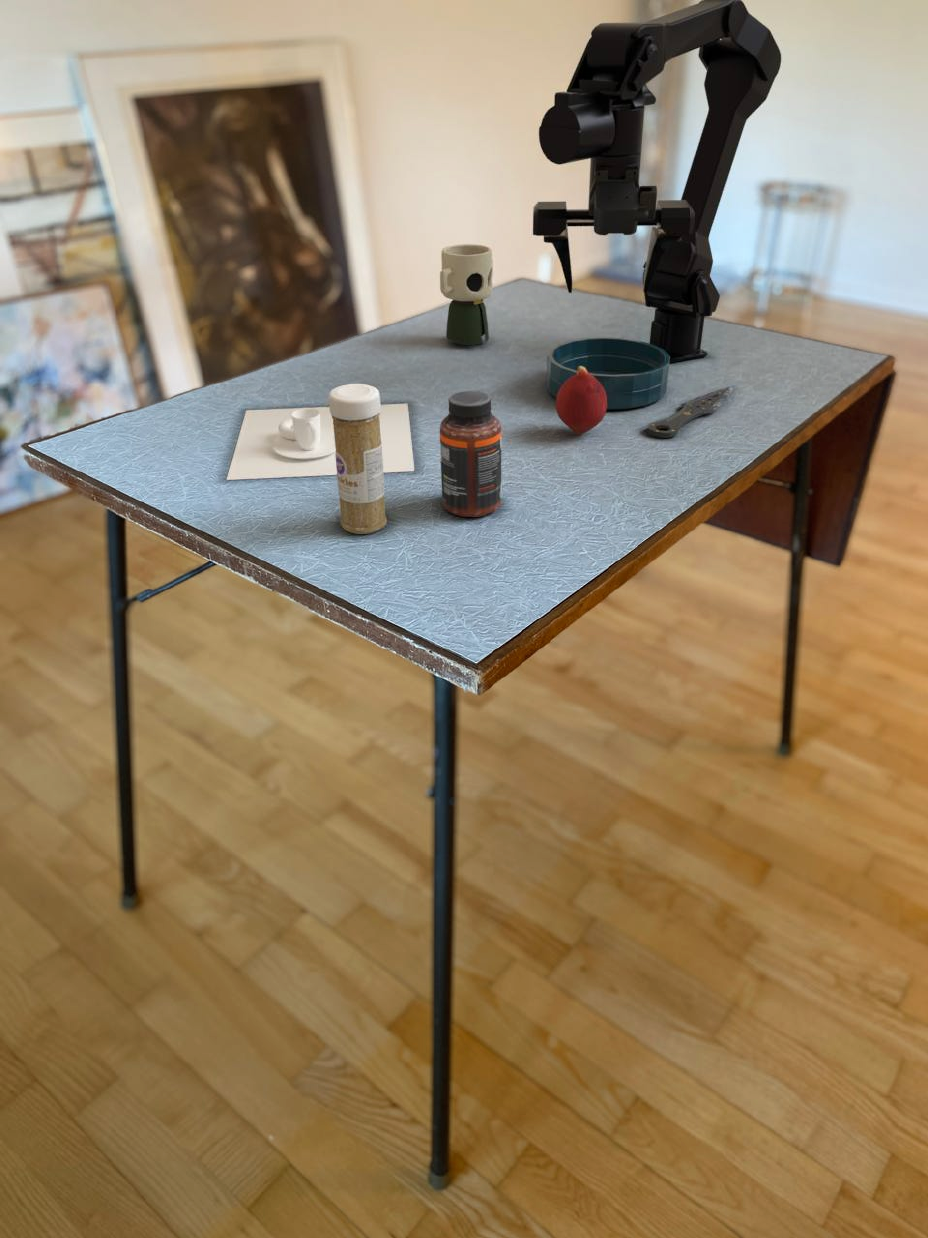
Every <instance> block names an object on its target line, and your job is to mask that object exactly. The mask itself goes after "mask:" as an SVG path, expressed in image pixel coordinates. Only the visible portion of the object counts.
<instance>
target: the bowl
mask: <svg viewBox="0 0 928 1238" xmlns="http://www.w3.org/2000/svg"><path fill="white" fill-rule="evenodd" d="M649 343H650V342H645V341H642V340H637V339H630V338H624V337H610V336H609V337H608V336H607V337H606V336H601V337H584V338H577V339H572V340H567V341H564V342H561V343H557V344H556V345H554V346H553V347H551V348H550V349H549V351H548V353H547V356H546V376H545V377H546V379H545V380H546V381H545V388H546V389H547V391H548V393H549V394H550V395H552V396H553V397H555V398H557V394H558V392H559V390H560V388H561V387H562V385H563V384H564V383H565V382H566V381H567V380H568V379H569V378H571V377H572V376H574V375H576V374H577V368H578V367H579V366H583V367H585V369H586V370H587V371H588V372H589V373H590V374H591V375H592V376H593V377H595V378H596V379H597V380H598V381H599V382H600V383H601V385H602V386H603V388H604V389H605V392H606V396H607V410H606V411H619V410H629V409H637V408H640V407H643V406H648V405H650V404H653V403H655V402H657V401H660V399H662V398H663V397H664V396H665V395H666V394H667V389H668V388H667V387H668V380H669V379H668V377H669V370H670V362H669V361H670V356H669V355H668V354H667V353H666V352H665V350H663V349H661V348H659V347H657V346H655V345H653V344H649Z"/></svg>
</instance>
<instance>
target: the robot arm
mask: <svg viewBox="0 0 928 1238" xmlns="http://www.w3.org/2000/svg"><path fill="white" fill-rule="evenodd" d="M590 35H591V36H590V38H589V39H588V41H587V43H586V45H585V47H584V49H583V51H582V54H581V57H580V58H579V61H578V63H577V66H576V67H575V70H574V73H573V75H572V78H571V79H570V82H569V84H568V86H567V88H566V91H558V92H555V93H554V99H553V100H554V101H553V102H554V105H553V106H550V108H548V109H547V110H546V112H545V113H544V116H543V117H542V120H541V123H540V126H539V128H538V142H539V145H540V148H541V151H542V153H543V155H544V156H545V158H546V159H547V160H548V161H549V162H551V163H553V164H555V165H565V164H570V163H574V162H580V161H584V160H589V159H590V163H589V183H588V185H589V188H588V206H587V207H588V208H586V209H584V208H581V209H580V208H579V209H578V208H577V209H574V208H573V209H568V207H567V201H537V203H535V205H534V206H533V208H532V210H533V211H532V235H533V236H536V237H543V243H546V244H551V245H552V246H553V249H554V251H555V252H556V255H557V257H558V259H559V262H560V266H561V269H562V273H563V277H564V280H565V281H564V282H565V284H566V288H567V292H568V293H569V294H572V293H573V273H572V262H571V252H570V241H569V230H568V229H569V228H568V227H593V232H594V233H595V234H596V235H599V236H608V235H609V234H610V235H611V234H614V235H615V234H616V235H617V234H622V235H624V236H631V235H634V234H636V233H637V231H638V227H648V226H649V227H651V232H650V238H649V245H648V249H647V254H646V255H647V256H646V260H645V262H644V263H643V266H642V268H643V271H642V278H641V279H642V280H641V281H642V291H643V296H644V302H645V307H647V308H654V317H653V320H652V321H651V324H650V335H649V342H648V343H649V344H653V345H655V346H657V347H659V348H661V349H663V350H665V352H666V353H667V354H668V355H669V356H670V361H669V363H675V362H680V361H687V360H691V359H697V358H703V357H708V351H705V350H703V349H701V347H702V340H703V333H704V325H705V317H711V316H713V314H714V313H715V312H716V311H717V308H718V306H719V301H720V298H721V294H720V293H719V290H718V289H717V287H716V285H715V283H714V281H713V279H712V277H711V273H712V268H713V264H714V258H713V253H712V249H711V244H710V235H711V231H712V228H713V225H714V222H715V219H716V215H717V213H718V210H719V207H720V203H721V200H722V197H723V194H724V191H725V188H726V185H727V181H728V178H729V175H730V173H731V170H732V166H733V163H734V160H735V156H736V155H737V154H736V153H737V150H738V148H739V144H740V141H741V138H742V135H743V131H744V129H745V126H746V123H747V120H748V119H749V118H750V117H751V116H752V115H753V114H754V113H755V112H756V111H757V110H758V109H759V108H760V107H761V106H762V104H764V103H765V102H766V100H767V98H768V96H769V94H770V91H771V90H772V87H773V84H774V82H775V79H776V78H777V76H778V74H779V72H780V69H781V64H782V53H781V49H780V48H779V45H778V43H777V41H776V39H775V37H774V35H773V33H772V31H771V30H770V29H769V28H768V26H766V25H765V24H763V23H762V22H761V21H760V20H758V19H757V18H756V17H755V16H754V15H752V14H751V13H749V10H748V8H747V7H746V4H745V2H744V1H743V0H700V1H699V2H698V3H696V4H693V5H690V6H689V5H688V6H687V7H684V8H681V9H678V10H675V11H673V12H670V13H667V14H664V15H662V16H659V17H656V18H653V19H650V20H648V21H645V22H644V21H643V22H602V23H601V22H600V23H599V24H597V25H596V26H595V27H594V28H592V30H591V32H590ZM697 49H698V55H697V56H698V59H699V60H700V62H701V64H702V65H703V67H704V68H705V70H706V72H705V76H704V77H705V78H704V82H703V89H704V92H705V97H706V101H707V107H708V110H707V114H706V117H705V121H704V124H703V126H702V127H703V128H702V131H701V133H700V136H699V140H698V144H697V147H696V150H695V153H694V156H693V159H692V162H691V165H690V169H689V173H688V176H687V179H686V182H685V184H684V187H683V192H682V195H681V197H680V199H671V200H670V199H665V200H664V199H663V200H662V199H661V200H660V199H659V200H658V187H657V185H640V174H641V173H640V172H641V159H642V148H643V134H644V121H645V120H644V119H645V107H647V106H652V105H655V104H656V102H657V97H656V96H655V94H654V93H653V92H652V91H651V90H650V89H649V88H648V86H647V84H648V83H649V82H651V81H652V80H653V79H654V78H656V77H657V76H659V75H660V74H662V72H664V69H665V66H666V63H667V62H669V61H670V60H672V59H674V58H677V57H679V56H682V55H684V54H687V53H689V52H692V51H694V50H697Z"/></svg>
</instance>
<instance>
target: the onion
mask: <svg viewBox="0 0 928 1238" xmlns="http://www.w3.org/2000/svg"><path fill="white" fill-rule="evenodd" d="M555 398H556V397H555ZM555 411H556V415H557V416H558V418H559V419H560V420H561V422H562V423H564V425H566V426H567V427H568V428H569V430H571V432H572V433H574V434H575V435H577V436H581V435H583V434H586V433H587V432H589V431H590V430H593V429H594V428H595V427H597V426H598V425H599V424H600V423H601V422H602V421H603V420H604V418H605V416H606V415H607V411H608V410H607V396H606V392H605V389H604V388H603V386H602V385H601V383H600V382H599V381H598V380H597V379H596V378H595V377H593V376H592V375H591V374H590V373H589V372H588V371H587V370H586V369H585V367H583V366H579V367H578V368H577V374H576V375H574V376H572V377H571V378H569V379H568V380H567V381H566V382H565V383H564V384H563V385H562V387H561V388H560V390H559V392H558V394H557V398H556V399H555Z"/></svg>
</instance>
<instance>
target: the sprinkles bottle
mask: <svg viewBox="0 0 928 1238" xmlns="http://www.w3.org/2000/svg"><path fill="white" fill-rule="evenodd" d="M380 405H381V395H380V391H379V390H378V388H376V387H375V386H372V385H371V384H365V383H348V384H343V385H338V386H336V387H333V388H332V389H331V390H330V391H329V393H328V407H329V408H330V413H331V415H332V418H333V425H334V437H335V448H336V453H335V456H336V469H337V475H336V479H337V490H338V491H337V493H338V497H339V506H340V507H339V508H340V519H339V520H340V521H339V522H340V525H341V527H342V529H343V530H345V531H347V532H348V533H351V534H356V535H363V534H364V535H365V534H373V533H375V532H378V531H379V530H382V529H383V528H384V527H385V526H386V525H387V524H388V518H387V516H386V506H385V505H386V503H385V492H386V491H385V490H386V489H385V475H384V473H383V457H382V442H381V436H380V421H379V416H380V413H379V412H380V410H381V407H380Z"/></svg>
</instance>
